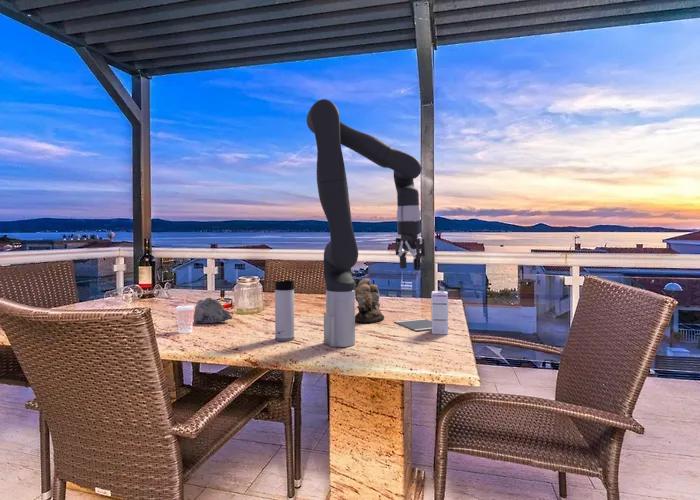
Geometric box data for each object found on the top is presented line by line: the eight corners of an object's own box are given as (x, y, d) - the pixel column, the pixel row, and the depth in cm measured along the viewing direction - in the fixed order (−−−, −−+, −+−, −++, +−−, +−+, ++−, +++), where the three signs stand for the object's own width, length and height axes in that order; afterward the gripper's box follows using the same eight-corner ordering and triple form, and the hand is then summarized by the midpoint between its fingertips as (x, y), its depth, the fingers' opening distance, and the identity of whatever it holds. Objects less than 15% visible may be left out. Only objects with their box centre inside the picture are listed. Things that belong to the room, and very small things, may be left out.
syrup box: (448, 334, 143) (448, 293, 142) (430, 333, 144) (431, 292, 144) (447, 330, 149) (448, 291, 148) (431, 330, 150) (431, 290, 149)
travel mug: (278, 342, 132) (278, 280, 131) (272, 338, 138) (272, 278, 137) (297, 340, 135) (297, 279, 134) (290, 336, 141) (290, 277, 140)
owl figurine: (375, 326, 157) (375, 281, 156) (346, 323, 161) (346, 280, 160) (388, 316, 174) (388, 276, 173) (362, 314, 178) (361, 275, 177)
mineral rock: (234, 322, 161) (233, 297, 161) (211, 328, 152) (211, 301, 152) (212, 318, 168) (212, 294, 168) (189, 323, 159) (189, 298, 159)
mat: (416, 331, 147) (416, 330, 147) (394, 322, 162) (394, 321, 162) (448, 328, 153) (448, 326, 153) (424, 319, 167) (424, 318, 167)
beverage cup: (197, 331, 147) (197, 292, 146) (180, 334, 142) (180, 294, 142) (189, 328, 151) (189, 290, 150) (173, 331, 146) (172, 292, 146)
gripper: (387, 221, 140) (389, 268, 140) (410, 219, 127) (412, 271, 127) (406, 220, 143) (408, 267, 144) (430, 218, 130) (432, 270, 130)
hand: (410, 269), depth 135 cm, fingers open, 8 cm apart
